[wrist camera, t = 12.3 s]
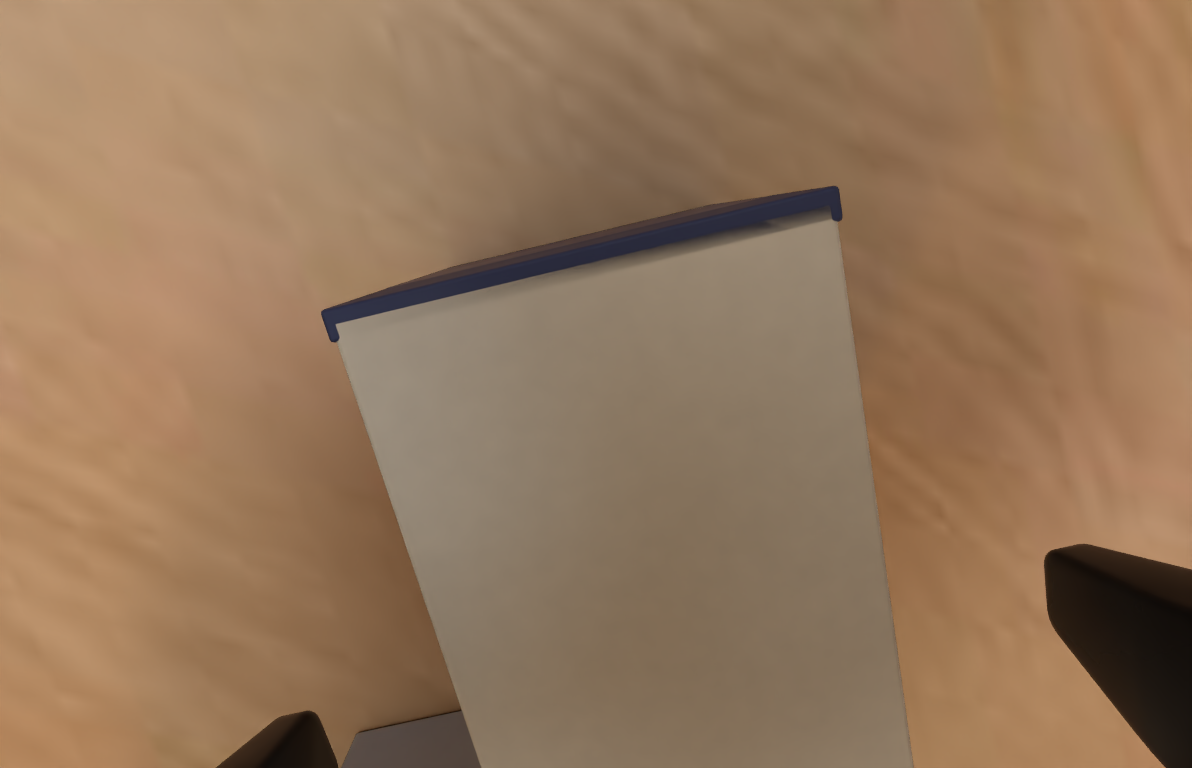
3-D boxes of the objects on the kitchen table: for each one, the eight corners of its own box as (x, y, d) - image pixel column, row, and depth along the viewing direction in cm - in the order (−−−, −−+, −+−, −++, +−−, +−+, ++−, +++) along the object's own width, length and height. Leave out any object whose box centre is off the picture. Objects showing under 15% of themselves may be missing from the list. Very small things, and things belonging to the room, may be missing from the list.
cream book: (547, 808, 12) (537, 951, 10) (383, 289, 10) (318, 310, 7) (863, 742, 12) (933, 872, 10) (775, 194, 10) (839, 184, 7)
